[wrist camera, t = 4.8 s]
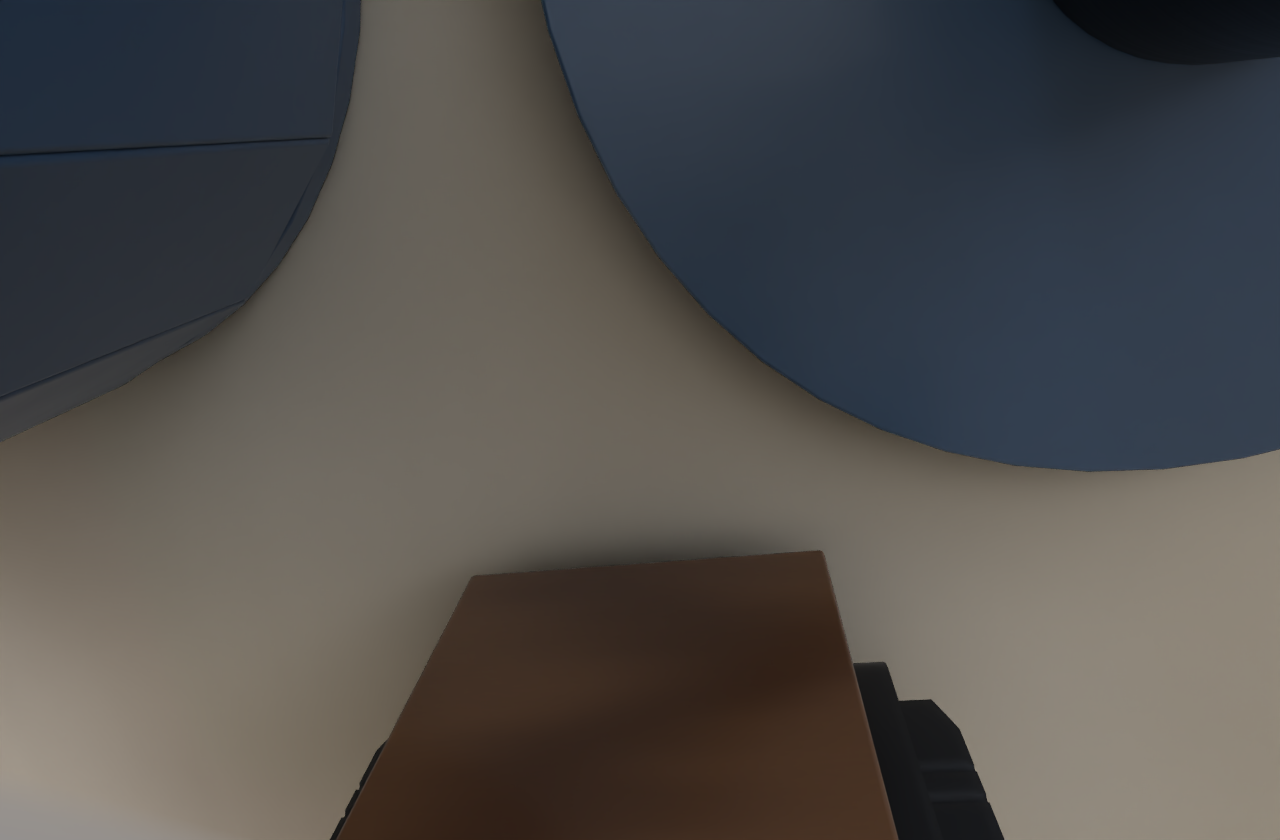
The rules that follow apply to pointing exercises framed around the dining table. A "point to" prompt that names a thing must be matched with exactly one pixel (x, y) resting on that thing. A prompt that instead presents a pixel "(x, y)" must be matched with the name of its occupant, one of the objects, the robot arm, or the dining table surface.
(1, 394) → the pot
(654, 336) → the dining table surface
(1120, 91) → the lid
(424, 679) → the block
